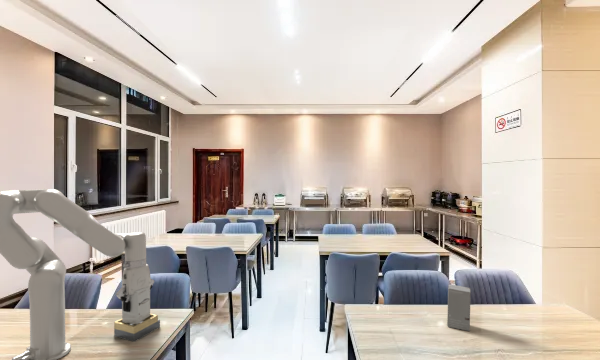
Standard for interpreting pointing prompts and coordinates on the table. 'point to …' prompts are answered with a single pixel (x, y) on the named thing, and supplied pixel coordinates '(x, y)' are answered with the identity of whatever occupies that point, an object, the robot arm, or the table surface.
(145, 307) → the supplement box
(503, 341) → the table surface
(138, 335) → the gold-rimmed shallow tray
